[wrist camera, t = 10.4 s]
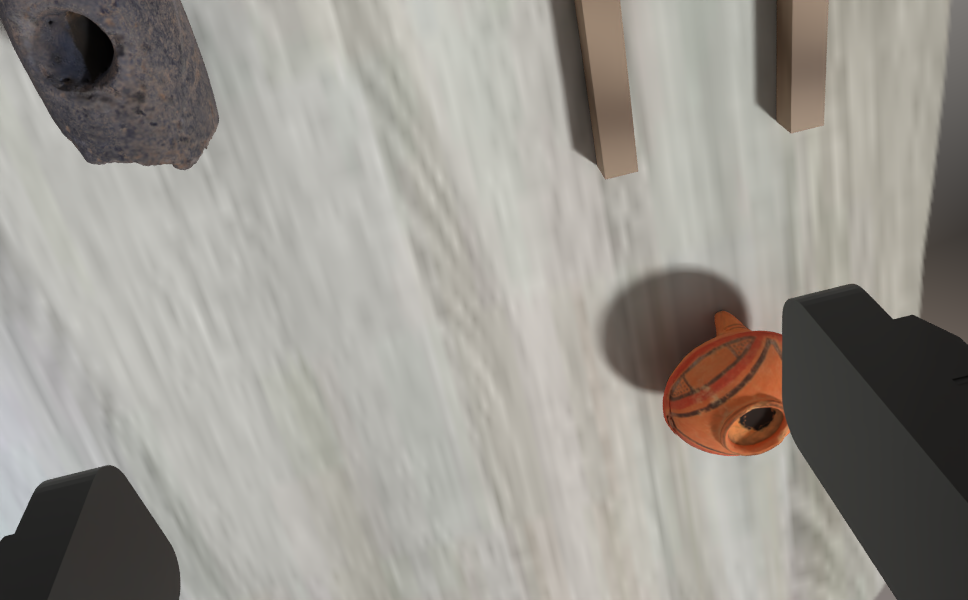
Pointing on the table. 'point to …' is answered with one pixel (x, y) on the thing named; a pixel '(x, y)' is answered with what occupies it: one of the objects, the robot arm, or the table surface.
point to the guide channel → (609, 85)
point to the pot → (729, 392)
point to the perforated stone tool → (117, 77)
